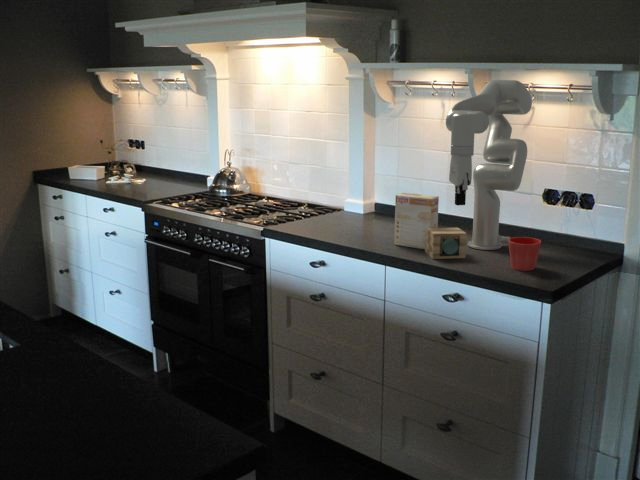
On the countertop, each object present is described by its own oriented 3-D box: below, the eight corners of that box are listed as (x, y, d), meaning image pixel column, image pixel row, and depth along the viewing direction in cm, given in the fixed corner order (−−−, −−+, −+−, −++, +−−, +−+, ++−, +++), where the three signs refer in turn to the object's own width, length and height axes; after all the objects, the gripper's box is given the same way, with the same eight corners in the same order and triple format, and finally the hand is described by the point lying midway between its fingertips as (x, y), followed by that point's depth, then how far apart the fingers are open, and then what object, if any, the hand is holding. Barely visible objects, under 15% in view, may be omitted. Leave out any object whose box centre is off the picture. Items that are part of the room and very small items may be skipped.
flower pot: (501, 269, 239) (503, 241, 237) (512, 262, 248) (514, 235, 246) (533, 274, 234) (535, 245, 231) (543, 266, 242) (545, 239, 240)
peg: (457, 254, 252) (458, 238, 250) (442, 254, 251) (443, 239, 250) (448, 246, 262) (449, 232, 261) (433, 247, 262) (434, 232, 260)
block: (465, 258, 253) (466, 233, 251) (432, 258, 252) (433, 234, 250) (456, 251, 263) (457, 227, 261) (425, 252, 261) (426, 228, 259)
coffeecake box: (437, 246, 270) (439, 196, 265) (429, 250, 264) (431, 198, 260) (402, 241, 278) (403, 192, 274) (393, 245, 272) (395, 194, 268)
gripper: (444, 148, 243) (442, 200, 247) (458, 154, 228) (456, 209, 233) (465, 147, 244) (463, 200, 248) (480, 153, 229) (478, 209, 234)
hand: (459, 204), depth 241 cm, fingers closed
